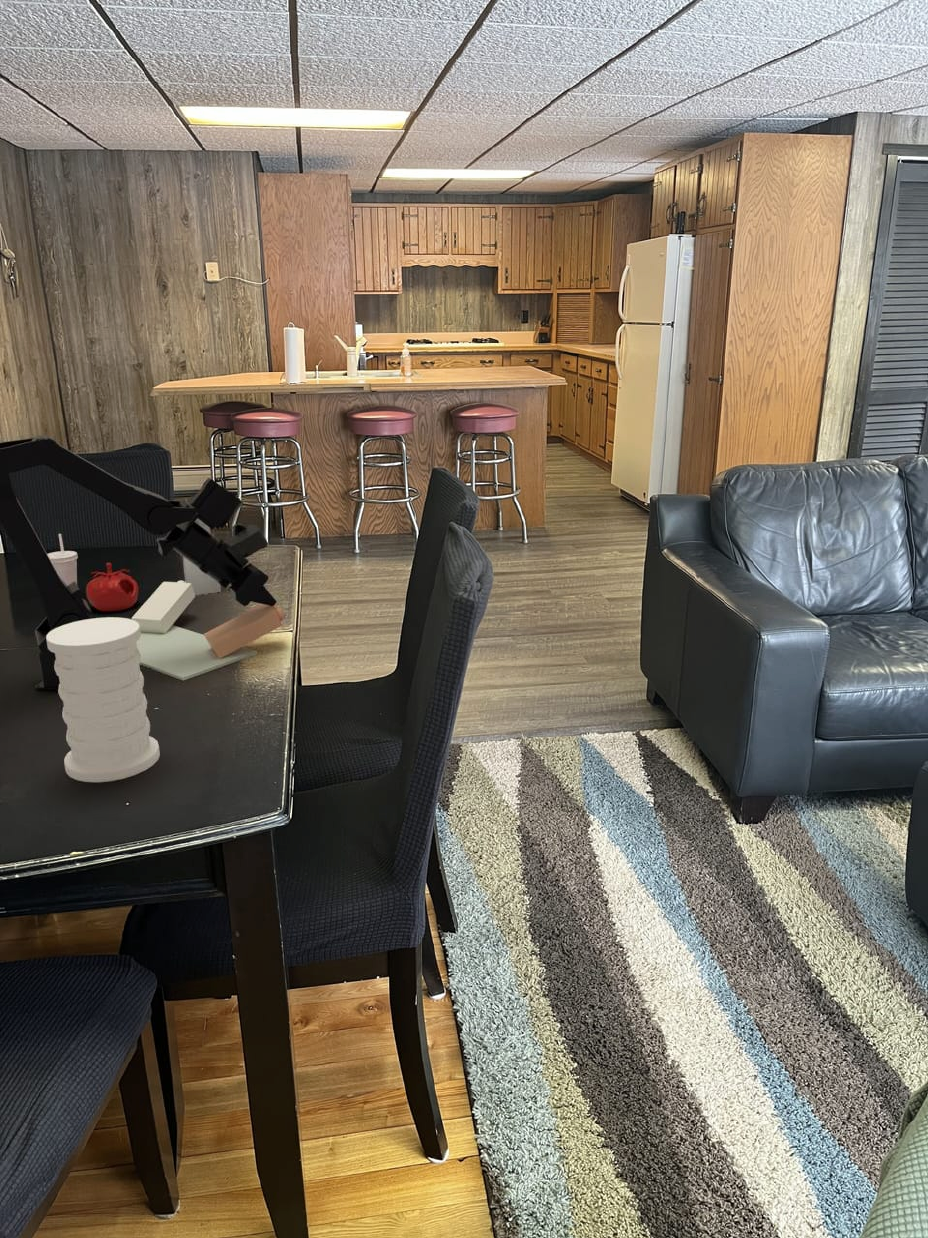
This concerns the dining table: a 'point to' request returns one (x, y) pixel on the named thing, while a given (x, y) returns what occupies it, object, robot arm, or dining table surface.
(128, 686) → the decorative container
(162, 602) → the tile one
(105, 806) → the dining table surface
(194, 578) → the pale grey upright block
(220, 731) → the dining table surface
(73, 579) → the smoothie
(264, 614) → the orange rectangular block
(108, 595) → the red tomato
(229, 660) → the mat
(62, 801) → the dining table surface
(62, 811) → the dining table surface
